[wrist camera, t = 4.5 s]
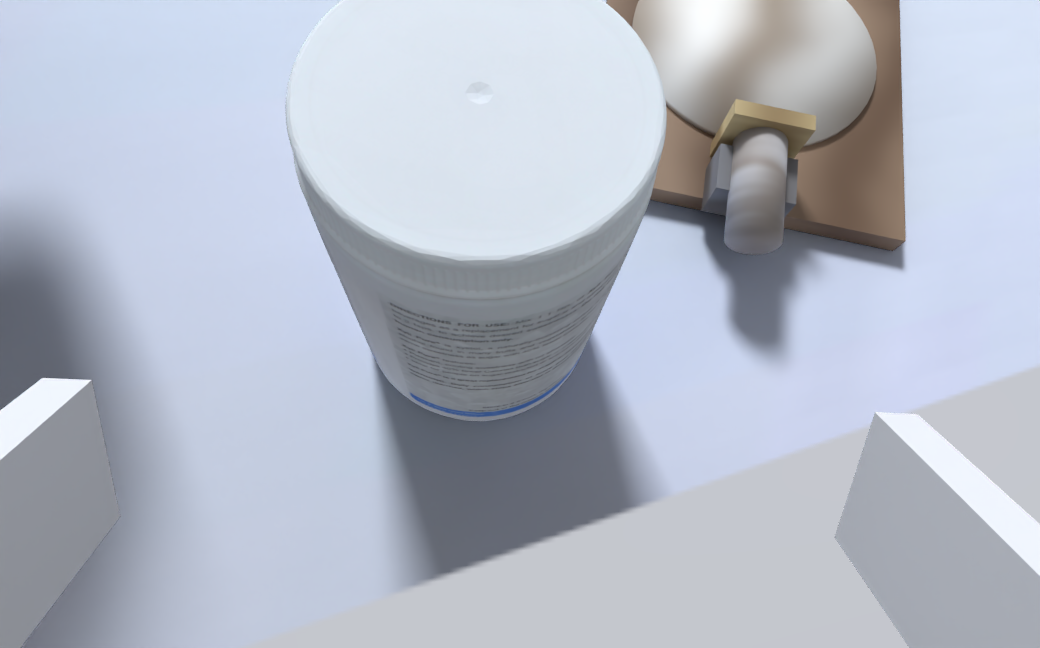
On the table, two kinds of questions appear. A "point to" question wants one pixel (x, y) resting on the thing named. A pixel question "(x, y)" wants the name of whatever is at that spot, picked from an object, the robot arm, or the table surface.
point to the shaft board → (780, 115)
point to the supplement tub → (476, 183)
